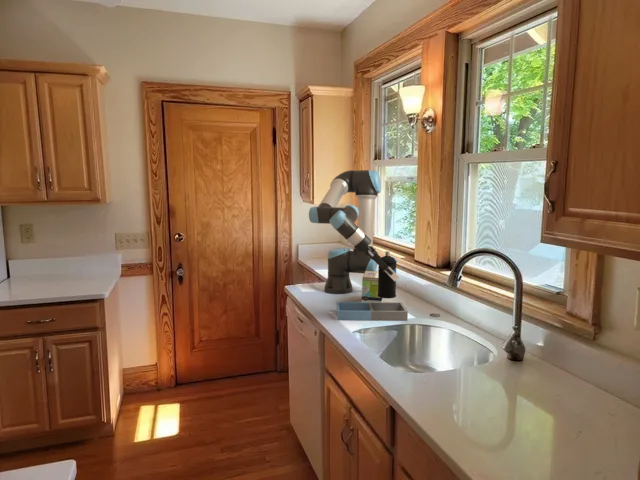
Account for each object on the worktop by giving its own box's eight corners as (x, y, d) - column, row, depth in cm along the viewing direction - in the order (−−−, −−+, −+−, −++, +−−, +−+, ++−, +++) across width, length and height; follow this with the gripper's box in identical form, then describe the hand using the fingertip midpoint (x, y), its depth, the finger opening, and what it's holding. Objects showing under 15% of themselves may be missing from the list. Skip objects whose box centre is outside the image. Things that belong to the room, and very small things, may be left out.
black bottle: (382, 299, 186) (383, 253, 183) (374, 294, 194) (375, 250, 191) (399, 297, 189) (400, 252, 186) (391, 292, 197) (392, 249, 193)
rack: (336, 310, 200) (336, 302, 200) (401, 310, 200) (402, 302, 199) (337, 320, 186) (337, 311, 186) (407, 320, 186) (407, 311, 185)
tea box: (382, 308, 204) (383, 277, 202) (361, 307, 206) (361, 276, 204) (384, 299, 218) (384, 271, 216) (364, 298, 220) (364, 270, 218)
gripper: (351, 242, 199) (385, 276, 201) (354, 250, 178) (392, 289, 180) (363, 231, 198) (397, 265, 200) (367, 238, 177) (406, 276, 179)
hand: (395, 276), depth 190 cm, fingers closed on black bottle, 8 cm apart
